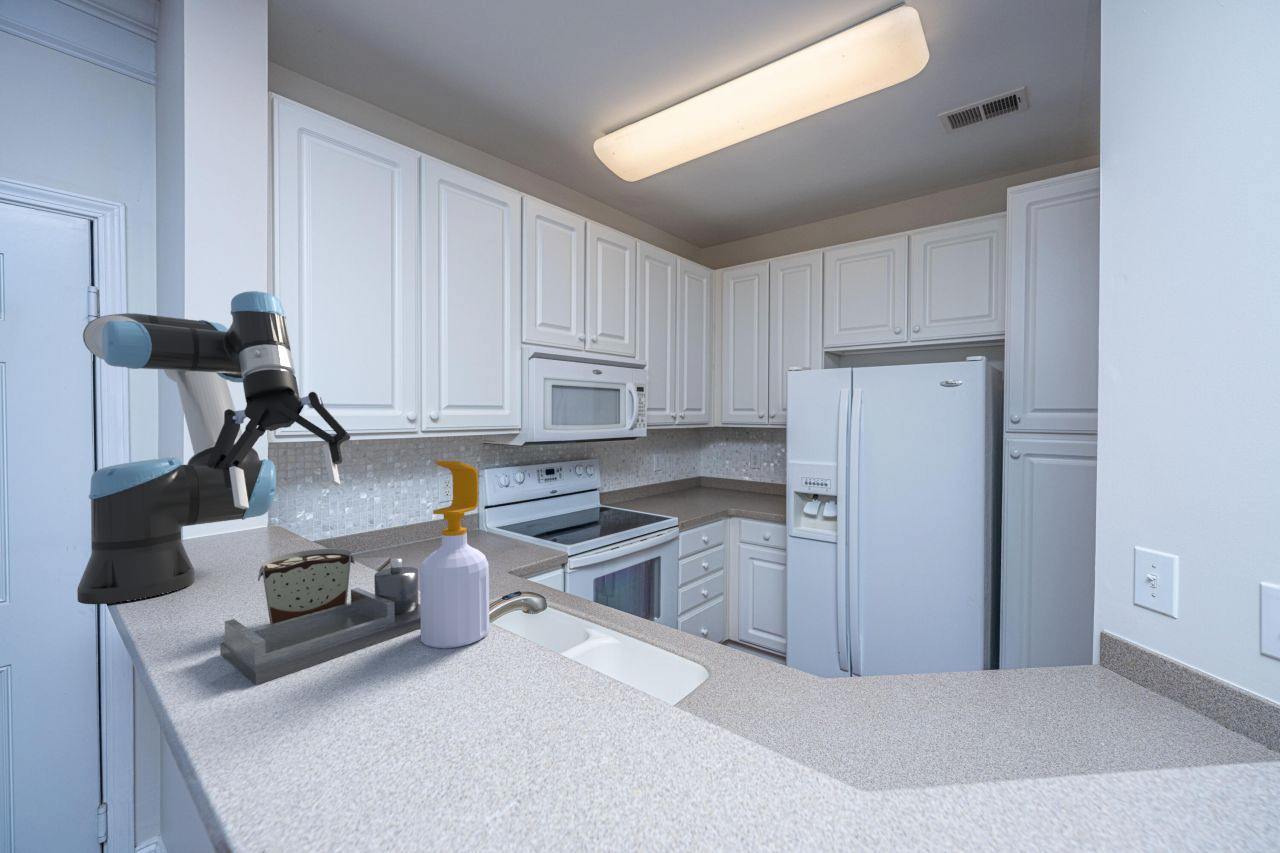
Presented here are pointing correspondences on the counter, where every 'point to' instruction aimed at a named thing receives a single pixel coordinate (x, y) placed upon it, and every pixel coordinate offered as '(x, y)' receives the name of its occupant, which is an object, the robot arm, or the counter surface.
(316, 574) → the food container
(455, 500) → the soap bottle
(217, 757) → the counter surface
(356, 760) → the counter surface
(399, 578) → the tray
